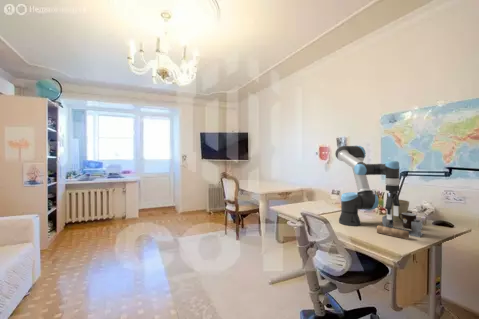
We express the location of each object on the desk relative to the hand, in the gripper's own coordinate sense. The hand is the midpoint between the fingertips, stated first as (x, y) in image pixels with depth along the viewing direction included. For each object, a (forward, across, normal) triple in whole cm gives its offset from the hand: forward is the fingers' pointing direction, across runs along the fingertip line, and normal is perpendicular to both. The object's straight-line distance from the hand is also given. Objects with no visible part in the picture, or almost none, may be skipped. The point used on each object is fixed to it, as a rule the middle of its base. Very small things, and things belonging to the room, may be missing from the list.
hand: (392, 217), depth 151 cm
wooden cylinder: (+12, 0, 0) cm, 12 cm away
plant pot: (+12, +43, +8) cm, 46 cm away
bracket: (+12, +13, -2) cm, 18 cm away
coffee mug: (+12, +28, -2) cm, 31 cm away
